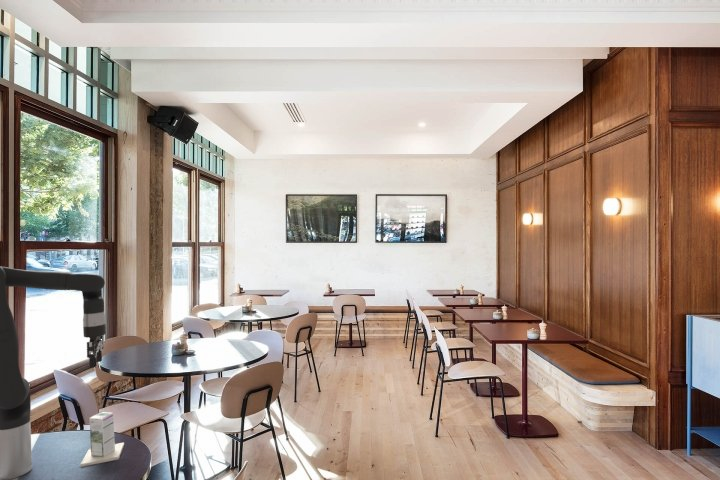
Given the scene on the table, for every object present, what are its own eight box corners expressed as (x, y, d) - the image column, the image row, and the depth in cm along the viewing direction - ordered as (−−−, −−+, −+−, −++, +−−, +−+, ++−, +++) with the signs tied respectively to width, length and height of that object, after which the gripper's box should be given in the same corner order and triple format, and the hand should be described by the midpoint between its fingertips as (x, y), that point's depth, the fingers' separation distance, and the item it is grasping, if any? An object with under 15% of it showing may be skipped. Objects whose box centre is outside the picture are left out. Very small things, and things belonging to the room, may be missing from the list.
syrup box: (115, 449, 157) (114, 411, 157) (103, 457, 151) (101, 418, 152) (103, 448, 158) (101, 411, 158) (90, 456, 153) (88, 417, 153)
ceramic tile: (80, 467, 147) (80, 464, 147) (88, 451, 159) (88, 449, 159) (118, 459, 152) (118, 456, 152) (124, 444, 163) (124, 442, 163)
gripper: (100, 326, 158) (102, 367, 158) (109, 320, 171) (110, 358, 171) (78, 328, 155) (79, 370, 155) (88, 321, 169) (89, 361, 169)
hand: (96, 364), depth 163 cm, fingers open, 8 cm apart
